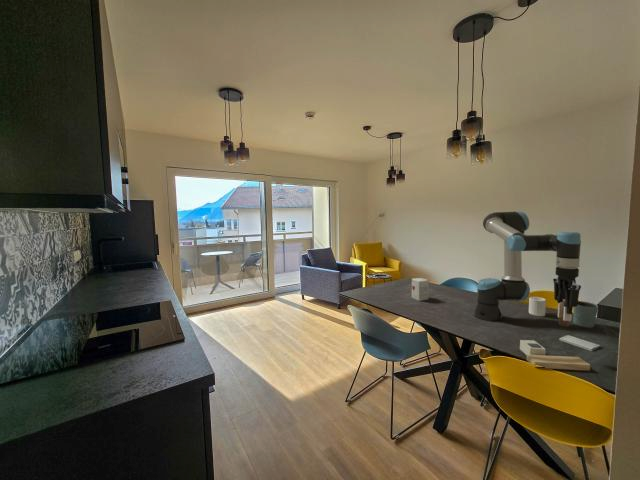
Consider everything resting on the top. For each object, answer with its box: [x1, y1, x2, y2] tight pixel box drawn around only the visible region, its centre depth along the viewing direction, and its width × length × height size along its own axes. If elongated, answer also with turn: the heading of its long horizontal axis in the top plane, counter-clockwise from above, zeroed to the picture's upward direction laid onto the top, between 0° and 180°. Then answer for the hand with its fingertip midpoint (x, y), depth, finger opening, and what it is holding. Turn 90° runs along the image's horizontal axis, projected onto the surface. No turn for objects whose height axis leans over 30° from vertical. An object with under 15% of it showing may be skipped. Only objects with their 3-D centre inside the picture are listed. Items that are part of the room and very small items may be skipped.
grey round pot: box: [572, 300, 599, 328], centre depth 152 cm, size 10×10×12 cm
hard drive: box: [559, 334, 601, 352], centre depth 132 cm, size 2×8×12 cm
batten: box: [526, 354, 591, 372], centre depth 115 cm, size 6×20×2 cm, turn 81°
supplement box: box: [411, 277, 430, 302], centre depth 206 cm, size 9×9×15 cm
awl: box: [558, 299, 570, 327], centre depth 121 cm, size 3×3×12 cm
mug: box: [528, 296, 547, 317], centre depth 170 cm, size 8×12×10 cm
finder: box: [519, 339, 546, 356], centre depth 123 cm, size 8×6×5 cm
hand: (564, 318), depth 121 cm, fingers closed on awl, 3 cm apart
